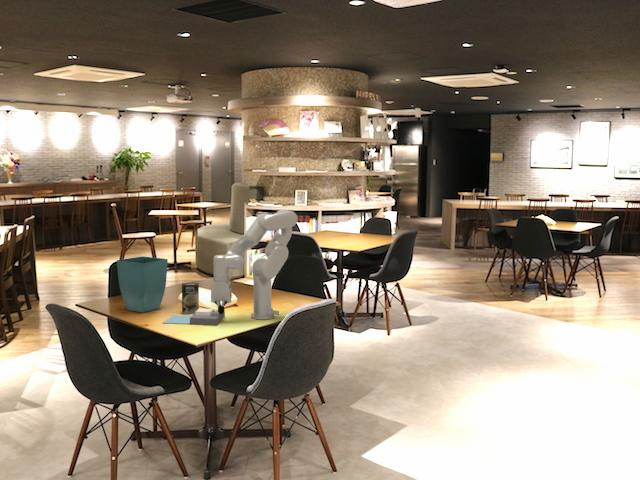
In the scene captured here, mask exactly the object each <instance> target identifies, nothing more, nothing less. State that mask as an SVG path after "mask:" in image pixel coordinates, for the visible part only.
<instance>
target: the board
mask: <svg viewBox="0 0 640 480" xmlns="http://www.w3.org/2000/svg"><path fill="white" fill-rule="evenodd" d="M190 316H191V317H190V324H189V325H195V326H196V325H197V326H218V325H219V324H220V323H221V322H222V321H224V319H225V318H226V311H225V310H224V313H223V314H219V312H218V310H214V314H213V315H211V316H195V314H192V315H190Z"/></svg>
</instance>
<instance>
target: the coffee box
mask: <svg viewBox="0 0 640 480" xmlns="http://www.w3.org/2000/svg"><path fill="white" fill-rule="evenodd" d="M199 287H200V286H199V283H198V282H182V283H181V314H182V315H191V314H192V315H194V314H195V311H197V310H198V309H199V307H200V306H199V302H200V301H199V298H200V296H199V294H200V289H199Z"/></svg>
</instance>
